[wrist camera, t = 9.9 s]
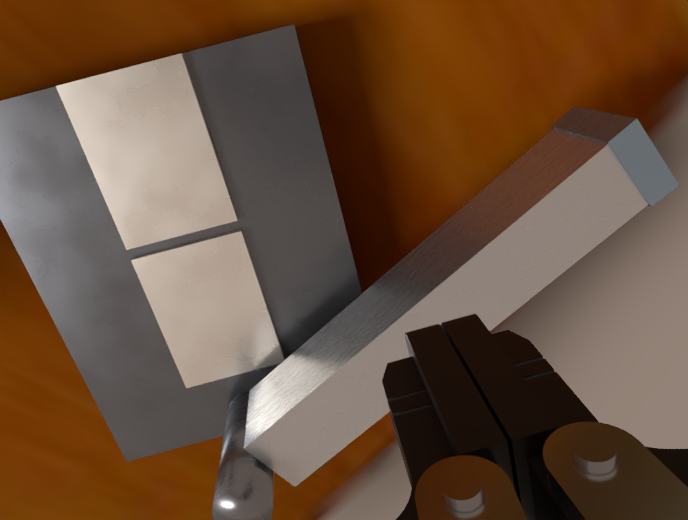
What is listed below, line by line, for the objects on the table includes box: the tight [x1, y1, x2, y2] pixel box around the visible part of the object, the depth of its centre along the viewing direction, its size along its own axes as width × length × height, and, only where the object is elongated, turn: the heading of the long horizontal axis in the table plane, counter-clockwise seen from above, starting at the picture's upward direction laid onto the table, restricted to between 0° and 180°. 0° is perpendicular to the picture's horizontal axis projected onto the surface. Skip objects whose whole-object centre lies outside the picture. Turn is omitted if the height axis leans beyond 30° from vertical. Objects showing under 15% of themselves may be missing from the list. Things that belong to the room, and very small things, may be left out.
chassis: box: [0, 24, 362, 520], centre depth 23 cm, size 18×14×9 cm
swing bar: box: [244, 107, 679, 487], centre depth 22 cm, size 19×3×4 cm, turn 132°
